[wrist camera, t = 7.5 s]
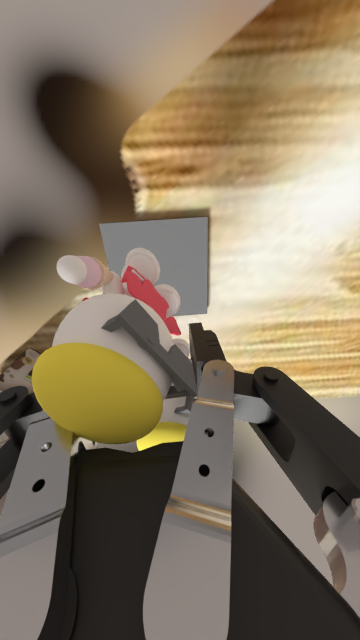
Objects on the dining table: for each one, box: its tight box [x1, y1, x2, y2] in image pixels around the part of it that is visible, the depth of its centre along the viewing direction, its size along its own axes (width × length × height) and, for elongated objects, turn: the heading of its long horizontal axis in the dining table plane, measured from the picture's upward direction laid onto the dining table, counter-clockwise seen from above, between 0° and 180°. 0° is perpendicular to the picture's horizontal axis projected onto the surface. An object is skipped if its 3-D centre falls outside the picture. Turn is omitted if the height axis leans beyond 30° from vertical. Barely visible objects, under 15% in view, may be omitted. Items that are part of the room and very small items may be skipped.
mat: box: [99, 217, 208, 316], centre depth 26 cm, size 12×12×1 cm
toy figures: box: [32, 248, 198, 451], centre depth 10 cm, size 12×4×8 cm, turn 19°
